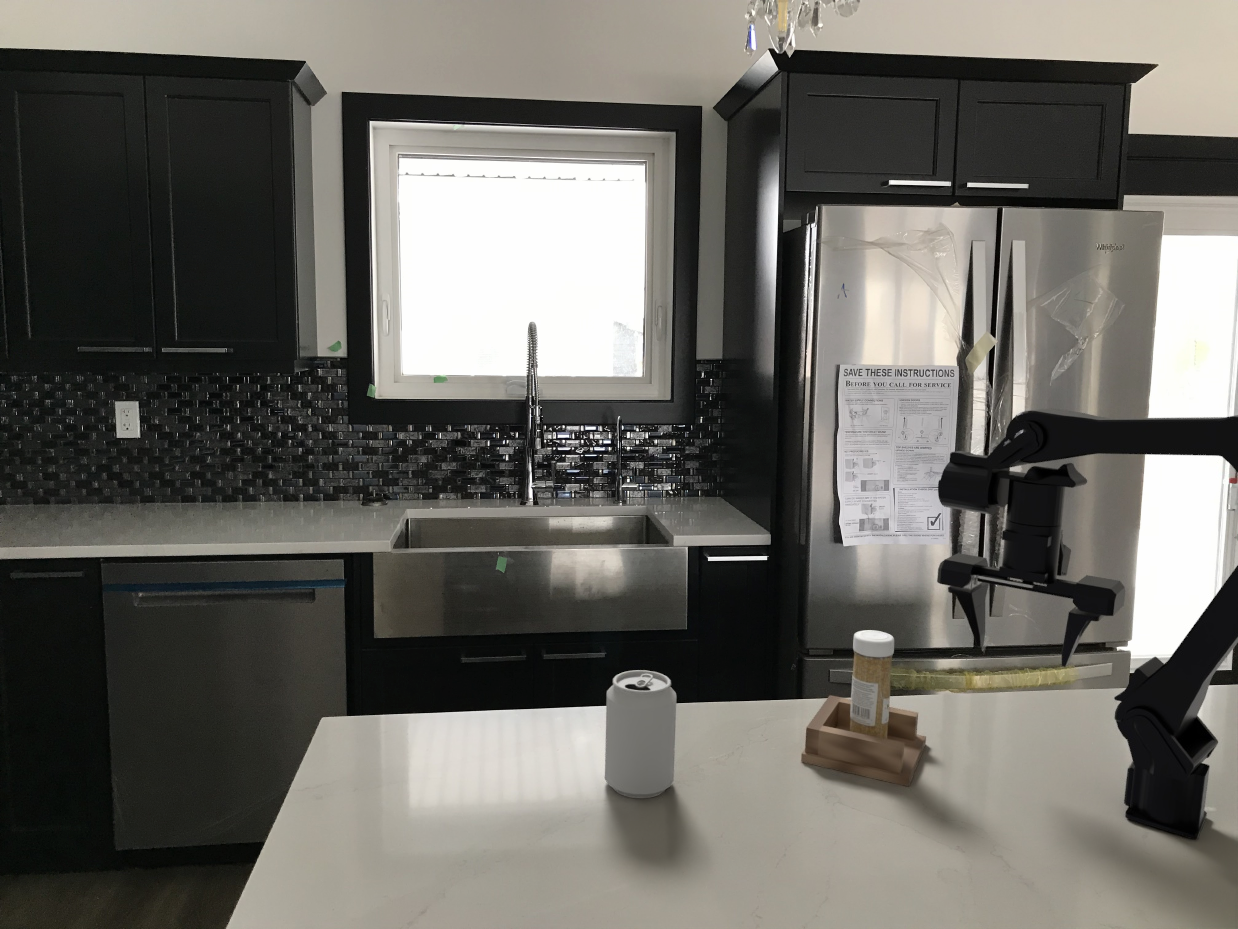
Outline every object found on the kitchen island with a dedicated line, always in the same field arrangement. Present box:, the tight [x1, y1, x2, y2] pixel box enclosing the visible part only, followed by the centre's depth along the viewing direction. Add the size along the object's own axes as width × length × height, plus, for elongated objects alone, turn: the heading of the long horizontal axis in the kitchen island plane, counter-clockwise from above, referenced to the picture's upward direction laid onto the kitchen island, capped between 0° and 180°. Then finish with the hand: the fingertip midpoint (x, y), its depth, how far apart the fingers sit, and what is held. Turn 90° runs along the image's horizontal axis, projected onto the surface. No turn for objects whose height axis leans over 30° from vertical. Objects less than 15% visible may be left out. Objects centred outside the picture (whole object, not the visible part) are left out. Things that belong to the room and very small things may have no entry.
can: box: [604, 669, 677, 799], centre depth 100 cm, size 8×8×12 cm
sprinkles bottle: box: [850, 629, 895, 739], centre depth 109 cm, size 5×5×13 cm
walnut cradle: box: [800, 694, 927, 787], centre depth 110 cm, size 12×12×4 cm
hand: (1021, 655), depth 107 cm, fingers open, 9 cm apart
